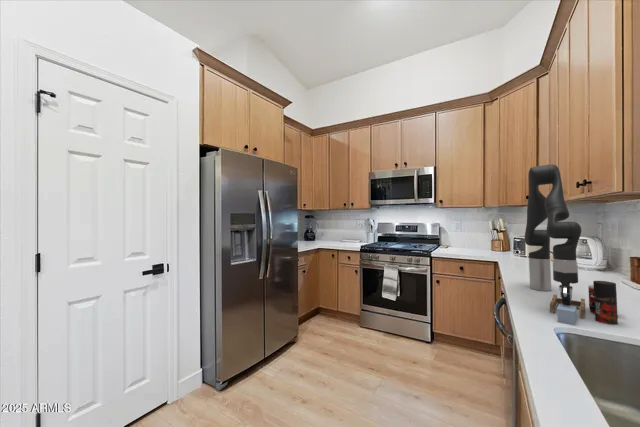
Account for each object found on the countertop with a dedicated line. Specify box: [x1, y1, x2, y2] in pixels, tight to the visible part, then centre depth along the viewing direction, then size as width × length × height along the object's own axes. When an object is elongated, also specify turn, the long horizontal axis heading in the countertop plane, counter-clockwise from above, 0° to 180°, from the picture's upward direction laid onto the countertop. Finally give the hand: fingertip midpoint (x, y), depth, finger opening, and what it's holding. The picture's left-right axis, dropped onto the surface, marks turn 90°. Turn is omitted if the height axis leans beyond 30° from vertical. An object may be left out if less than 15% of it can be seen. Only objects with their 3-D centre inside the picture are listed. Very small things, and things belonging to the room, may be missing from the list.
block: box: [556, 304, 578, 326], centre depth 102 cm, size 8×5×5 cm, turn 133°
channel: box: [549, 294, 586, 319], centre depth 114 cm, size 19×10×4 cm, turn 134°
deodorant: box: [592, 280, 619, 326], centre depth 101 cm, size 6×6×15 cm
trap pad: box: [557, 303, 580, 310], centre depth 118 cm, size 5×7×1 cm
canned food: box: [587, 284, 618, 315], centre depth 109 cm, size 8×8×11 cm
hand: (566, 312), depth 107 cm, fingers closed
